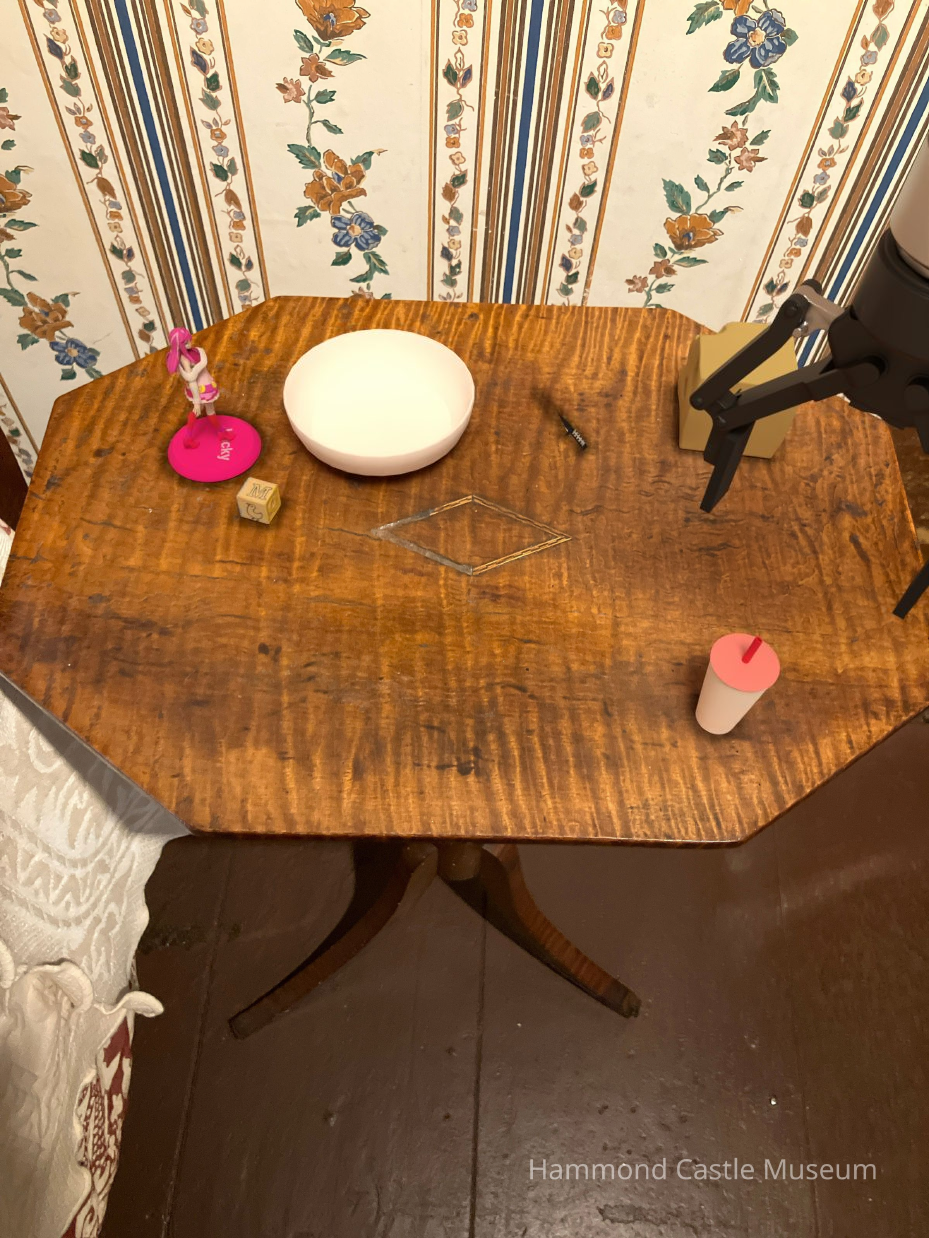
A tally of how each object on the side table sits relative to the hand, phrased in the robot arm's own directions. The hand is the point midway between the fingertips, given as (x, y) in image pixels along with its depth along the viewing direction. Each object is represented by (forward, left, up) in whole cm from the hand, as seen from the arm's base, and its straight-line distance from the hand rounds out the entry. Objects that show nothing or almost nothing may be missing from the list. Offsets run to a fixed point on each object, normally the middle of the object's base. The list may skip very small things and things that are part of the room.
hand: (805, 549), depth 57 cm
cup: (0, 0, -23) cm, 23 cm away
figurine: (+57, +5, -23) cm, 62 cm away
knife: (+31, -22, -23) cm, 44 cm away
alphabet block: (+47, +8, -23) cm, 53 cm away
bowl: (+45, -8, -23) cm, 51 cm away
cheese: (+17, -33, -23) cm, 43 cm away
